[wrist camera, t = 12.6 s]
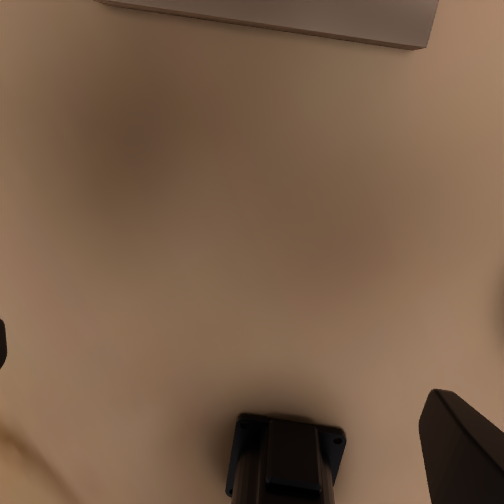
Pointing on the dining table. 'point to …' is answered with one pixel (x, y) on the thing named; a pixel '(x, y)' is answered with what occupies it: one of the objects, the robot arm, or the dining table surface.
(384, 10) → the brown wooden tray
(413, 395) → the dining table surface
